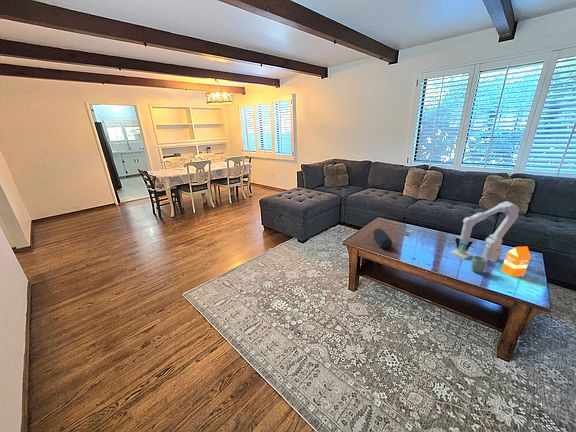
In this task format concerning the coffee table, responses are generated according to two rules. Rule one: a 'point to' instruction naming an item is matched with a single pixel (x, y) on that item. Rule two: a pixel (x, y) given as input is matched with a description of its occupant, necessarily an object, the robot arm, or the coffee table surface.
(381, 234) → the portable speaker
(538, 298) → the coffee table surface
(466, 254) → the tray
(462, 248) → the block
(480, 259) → the cup
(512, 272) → the orange juice
